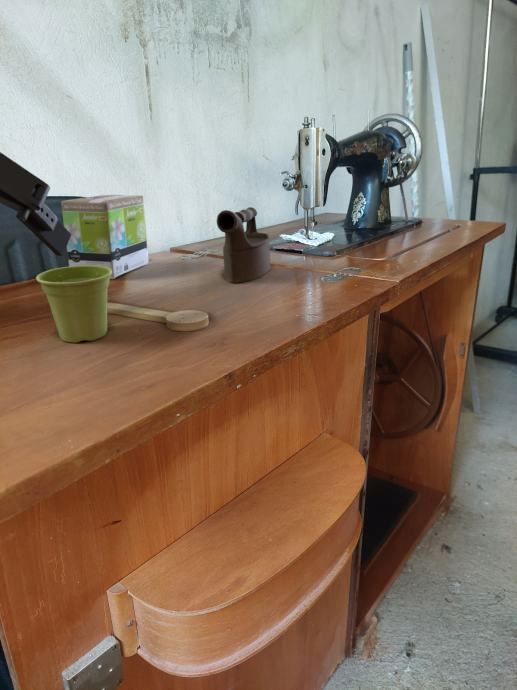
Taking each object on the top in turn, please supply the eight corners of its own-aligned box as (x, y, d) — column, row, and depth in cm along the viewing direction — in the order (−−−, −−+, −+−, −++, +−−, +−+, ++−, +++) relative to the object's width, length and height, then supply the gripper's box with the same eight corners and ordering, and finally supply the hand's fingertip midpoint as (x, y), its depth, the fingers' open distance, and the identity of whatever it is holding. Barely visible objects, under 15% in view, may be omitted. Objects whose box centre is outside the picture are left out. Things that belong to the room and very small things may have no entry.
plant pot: (133, 329, 72) (126, 268, 69) (86, 352, 65) (76, 285, 61) (82, 321, 76) (73, 263, 73) (32, 342, 68) (19, 278, 65)
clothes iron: (206, 286, 93) (202, 210, 89) (235, 266, 108) (232, 200, 103) (248, 288, 91) (246, 210, 86) (272, 268, 106) (270, 200, 101)
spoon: (77, 312, 80) (76, 305, 80) (105, 302, 85) (104, 295, 85) (192, 333, 70) (191, 325, 70) (216, 321, 75) (216, 313, 74)
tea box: (115, 280, 99) (105, 200, 94) (69, 278, 102) (57, 200, 96) (150, 263, 113) (143, 193, 107) (109, 262, 115) (100, 193, 110)
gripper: (-308, 119, 41) (-85, 265, 60) (-77, 103, 33) (97, 278, 52) (-253, 53, 44) (-56, 213, 62) (-28, 24, 36) (121, 217, 54)
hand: (13, 243), depth 57 cm, fingers open, 13 cm apart
